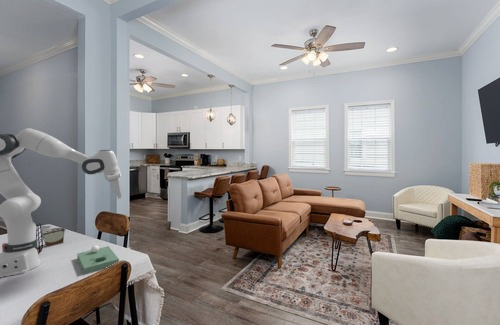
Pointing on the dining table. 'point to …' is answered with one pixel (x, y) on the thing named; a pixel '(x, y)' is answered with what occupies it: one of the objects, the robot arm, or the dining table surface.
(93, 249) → the ball
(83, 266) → the putting board
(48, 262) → the dining table surface
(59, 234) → the food container
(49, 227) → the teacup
